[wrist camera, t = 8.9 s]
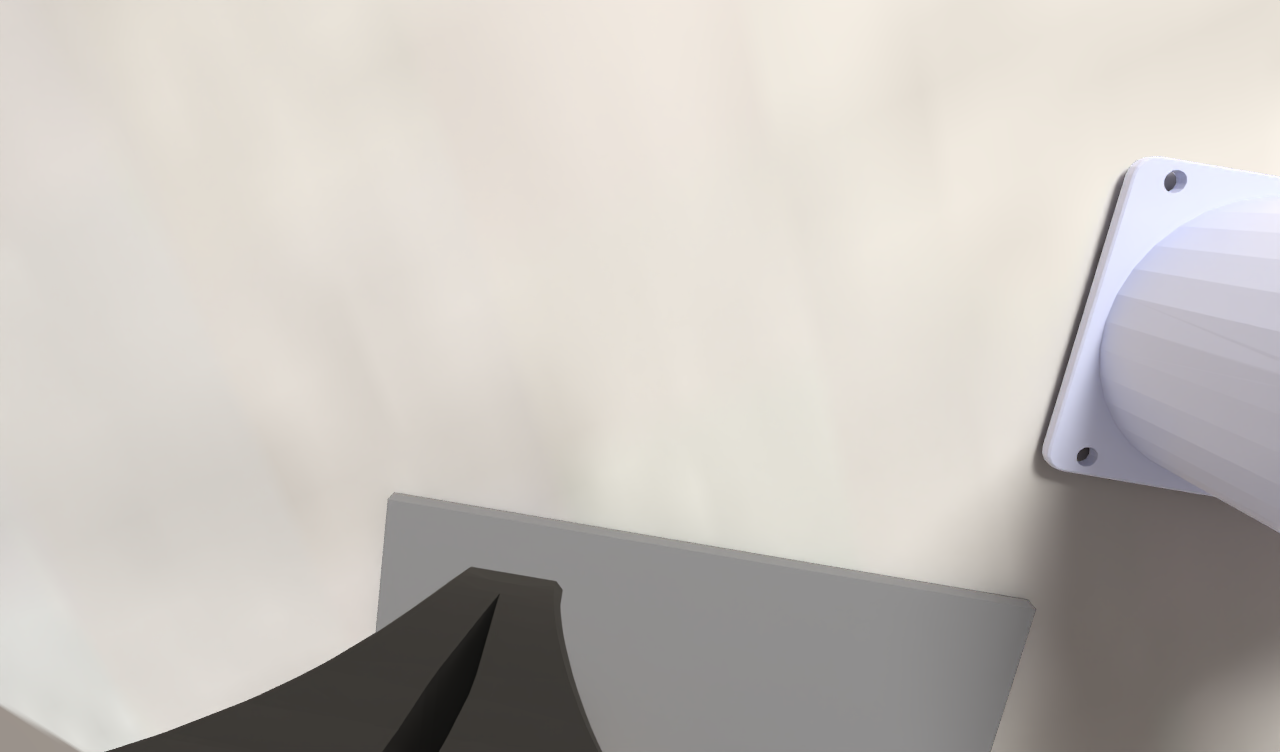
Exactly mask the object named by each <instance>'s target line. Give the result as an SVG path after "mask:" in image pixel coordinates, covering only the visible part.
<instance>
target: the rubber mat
mask: <svg viewBox="0 0 1280 752" xmlns="http://www.w3.org/2000/svg"><path fill="white" fill-rule="evenodd" d="M470 567H476V568H482V569H488V570H494V571H500V572H506V573H512V574H518V575H524V576H529V577H535V578H541V579H547V580H553V581H557V583H558V584H559V585H560V587H561V588H562V590H563V592H562V599H561V620H562V628H563V635H564V640H565V645H566V649H567V653H568V657H569V661H570V665H571V669H572V673H573V677H574V680H575V683H576V687H577V690H578V693H579V696H580V698H581V701H582V704H583V707H584V710H585V713H586V715H587V718H588V720H589V723H590V725H591V728H592V730H593V733H594V735H595V737H596V740H597V742H598V744H599V746H600V748H601V750H602V752H991V749H992V746H993V742H994V739H995V736H996V733H997V730H998V727H999V724H1000V720H1001V717H1002V714H1003V711H1004V708H1005V705H1006V702H1007V699H1008V695H1009V692H1010V689H1011V686H1012V683H1013V680H1014V677H1015V674H1016V670H1017V667H1018V664H1019V661H1020V658H1021V655H1022V652H1023V649H1024V645H1025V642H1026V639H1027V636H1028V633H1029V630H1030V627H1031V624H1032V620H1033V617H1034V614H1035V611H1036V608H1035V607H1034V606H1033V605H1032V604H1031V603H1030V602H1029V600H1027V599H1021V598H1015V597H1009V596H1003V595H997V594H991V593H985V592H979V591H973V590H967V589H962V588H956V587H950V586H944V585H938V584H932V583H926V582H920V581H914V580H908V579H903V578H897V577H891V576H885V575H879V574H873V573H867V572H861V571H855V570H849V569H843V568H838V567H832V566H826V565H820V564H814V563H808V562H802V561H796V560H790V559H784V558H778V557H773V556H767V555H761V554H755V553H749V552H743V551H737V550H731V549H725V548H719V547H713V546H708V545H702V544H696V543H690V542H684V541H678V540H672V539H666V538H660V537H654V536H649V535H643V534H637V533H631V532H625V531H619V530H613V529H607V528H601V527H595V526H589V525H584V524H578V523H572V522H566V521H560V520H554V519H548V518H542V517H536V516H530V515H524V514H519V513H513V512H507V511H501V510H495V509H489V508H483V507H477V506H471V505H465V504H459V503H454V502H448V501H442V500H436V499H430V498H424V497H418V496H412V495H406V494H400V493H395V492H394V493H393V494H392V495H391V496H390V498H389V499H388V503H387V514H386V525H385V536H384V547H383V557H382V568H381V579H380V590H379V601H378V612H377V623H376V632H378V631H379V630H381V629H382V628H384V627H385V626H387V625H388V624H390V623H391V622H393V621H394V620H396V619H397V618H398V617H400V616H401V615H403V614H404V613H406V612H407V611H409V610H410V609H412V608H413V607H415V606H416V605H417V604H419V603H420V602H422V601H423V600H424V599H426V598H427V597H429V596H430V595H431V594H433V593H434V592H436V591H437V590H438V589H440V588H441V587H442V586H444V585H445V584H447V583H448V582H449V581H451V580H452V579H453V578H455V577H456V576H458V575H459V574H461V573H462V572H464V571H465V570H467V569H468V568H470Z"/></svg>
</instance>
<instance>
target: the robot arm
mask: <svg viewBox="0 0 1280 752" xmlns="http://www.w3.org/2000/svg"><path fill="white" fill-rule="evenodd" d="M1170 172H1173V173H1174V174H1175V176H1176V184H1175V186H1174V188H1173V189H1172V190H1170V191H1167V190H1166V188H1165V187H1164V179H1165V178H1166V176H1167V174H1168V173H1170ZM1086 447H1089V448H1090V450H1089V455H1088V457H1087V458H1086V459H1084V460H1082V461H1077V454H1078V453H1079V451H1080V450H1082V449H1083V448H1086ZM1042 454H1043V457H1044V460H1045V461H1046V462H1047V463H1048V464H1049V465H1051V466H1052V467H1053V468H1055V469H1058V470H1060V471H1065V472H1071V473H1076V474H1082V475H1088V476H1094V477H1100V478H1106V479H1112V480H1118V481H1124V482H1130V483H1136V484H1141V485H1147V486H1153V487H1159V488H1165V489H1171V490H1177V491H1183V492H1189V493H1195V494H1201V495H1206V496H1212V497H1216V498H1218V499H1220V500H1222V501H1223V502H1225V503H1227V504H1229V505H1230V506H1232V507H1234V508H1236V509H1238V510H1239V511H1241V512H1243V513H1245V514H1246V515H1248V516H1250V517H1252V518H1254V519H1255V520H1257V521H1259V522H1261V523H1262V524H1264V525H1266V526H1268V527H1270V528H1271V529H1273V530H1275V531H1277V532H1278V533H1280V177H1279V176H1273V175H1267V174H1261V173H1256V172H1250V171H1244V170H1238V169H1232V168H1226V167H1220V166H1214V165H1208V164H1202V163H1196V162H1190V161H1184V160H1179V159H1173V158H1167V157H1161V156H1158V157H1144V158H1141V159H1139V160H1137V161H1135V162H1134V163H1133V164H1132V165H1131V166H1130V167H1129V169H1128V171H1127V173H1126V175H1125V178H1124V181H1123V185H1122V188H1121V191H1120V194H1119V198H1118V201H1117V204H1116V208H1115V211H1114V214H1113V217H1112V221H1111V224H1110V227H1109V230H1108V234H1107V237H1106V240H1105V244H1104V247H1103V250H1102V253H1101V257H1100V260H1099V263H1098V267H1097V270H1096V273H1095V276H1094V280H1093V283H1092V286H1091V290H1090V293H1089V296H1088V299H1087V303H1086V306H1085V309H1084V312H1083V316H1082V319H1081V322H1080V326H1079V329H1078V332H1077V335H1076V339H1075V342H1074V345H1073V349H1072V352H1071V355H1070V358H1069V362H1068V365H1067V368H1066V372H1065V375H1064V378H1063V381H1062V385H1061V388H1060V391H1059V394H1058V398H1057V401H1056V404H1055V408H1054V411H1053V414H1052V417H1051V421H1050V424H1049V427H1048V431H1047V434H1046V437H1045V440H1044V444H1043V449H1042ZM562 592H563V590H562V588H561V587H560V585H559V584H558V583H557V581H553V580H547V579H541V578H535V577H529V576H524V575H518V574H512V573H506V572H500V571H494V570H488V569H482V568H476V567H470V568H468V569H467V570H465V571H464V572H462V573H461V574H459V575H458V576H456V577H455V578H453V579H452V580H451V581H449V582H448V583H447V584H445V585H444V586H442V587H441V588H440V589H438V590H437V591H436V592H434V593H433V594H431V595H430V596H429V597H427V598H426V599H424V600H423V601H422V602H420V603H419V604H417V605H416V606H415V607H413V608H412V609H410V610H409V611H407V612H406V613H404V614H403V615H401V616H400V617H398V618H397V619H396V620H394V621H393V622H391V623H390V624H388V625H387V626H385V627H384V628H382V629H381V630H379V631H378V632H376V633H374V634H373V635H371V636H369V637H368V638H366V639H364V640H363V641H361V642H359V643H358V644H356V645H354V646H353V647H351V648H349V649H348V650H346V651H344V652H343V653H341V654H339V655H338V656H336V657H334V658H333V659H331V660H329V661H327V662H326V663H324V664H322V665H320V666H318V667H316V668H314V669H312V670H310V671H308V672H307V673H305V674H303V675H301V676H299V677H297V678H295V679H293V680H290V681H288V682H286V683H284V684H282V685H280V686H278V687H276V688H273V689H271V690H269V691H267V692H265V693H263V694H261V695H259V696H256V697H254V698H252V699H249V700H247V701H245V702H242V703H240V704H237V705H235V706H232V707H229V708H227V709H224V710H222V711H219V712H217V713H214V714H211V715H209V716H206V717H204V718H201V719H198V720H196V721H193V722H191V723H188V724H186V725H183V726H180V727H178V728H175V729H173V730H170V731H167V732H165V733H162V734H159V735H156V736H153V737H150V738H147V739H144V740H141V741H137V742H134V743H131V744H128V745H125V746H122V747H119V748H116V749H113V750H109V751H106V752H602V750H601V748H600V746H599V744H598V742H597V740H596V737H595V735H594V733H593V730H592V728H591V725H590V723H589V720H588V718H587V715H586V713H585V710H584V707H583V704H582V701H581V698H580V696H579V693H578V690H577V687H576V683H575V680H574V677H573V673H572V669H571V665H570V661H569V657H568V653H567V649H566V645H565V640H564V635H563V628H562V620H561V599H562Z"/></svg>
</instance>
